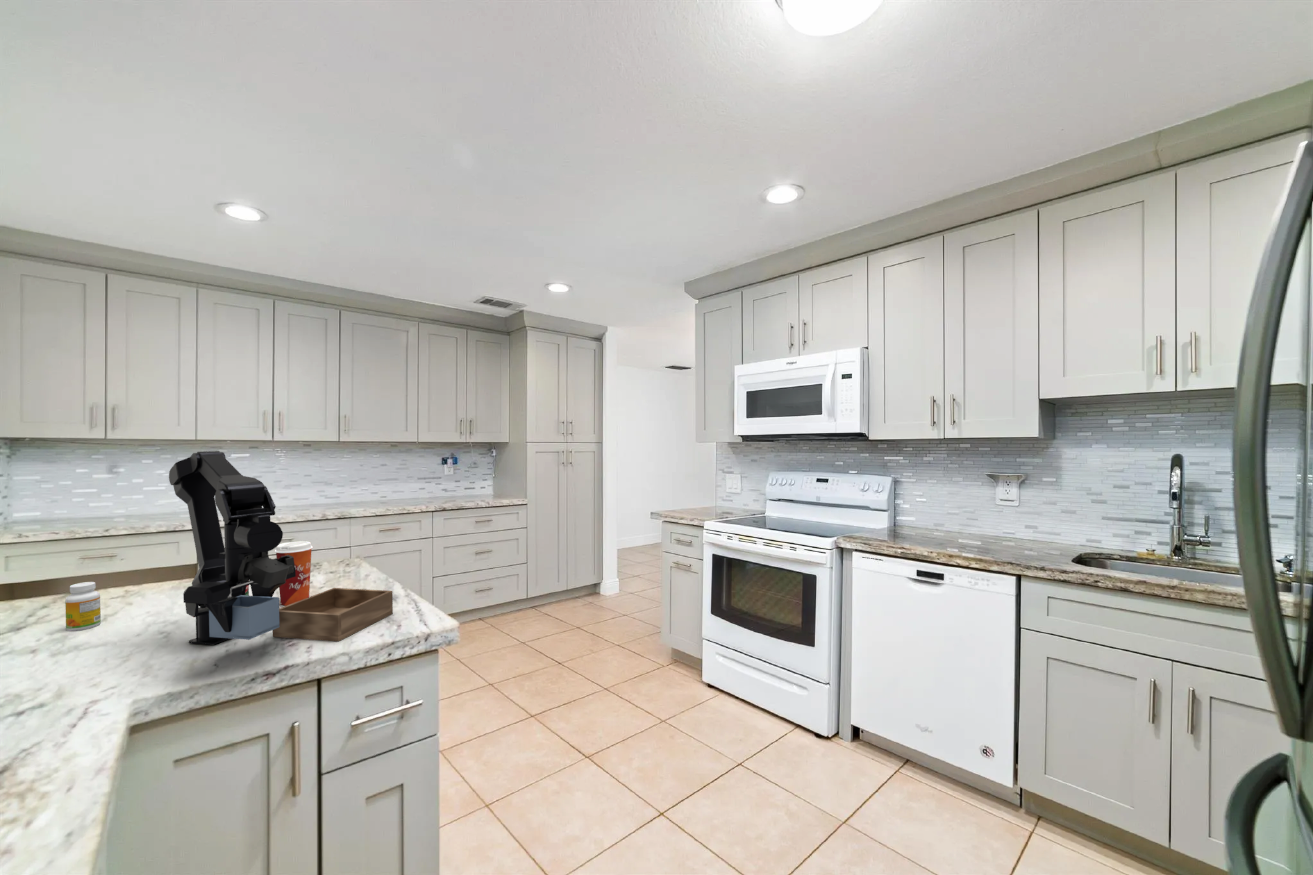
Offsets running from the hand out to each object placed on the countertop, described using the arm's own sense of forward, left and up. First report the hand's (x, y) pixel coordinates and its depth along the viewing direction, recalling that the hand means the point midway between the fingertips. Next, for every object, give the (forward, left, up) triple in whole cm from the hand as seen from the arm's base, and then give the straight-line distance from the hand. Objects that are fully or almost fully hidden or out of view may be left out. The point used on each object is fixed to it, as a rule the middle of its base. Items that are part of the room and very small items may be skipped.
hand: (245, 625), depth 105 cm
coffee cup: (-18, +30, -6) cm, 36 cm away
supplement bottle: (-51, +7, -6) cm, 52 cm away
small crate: (0, 0, -1) cm, 1 cm away
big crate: (+5, +17, -6) cm, 19 cm away
